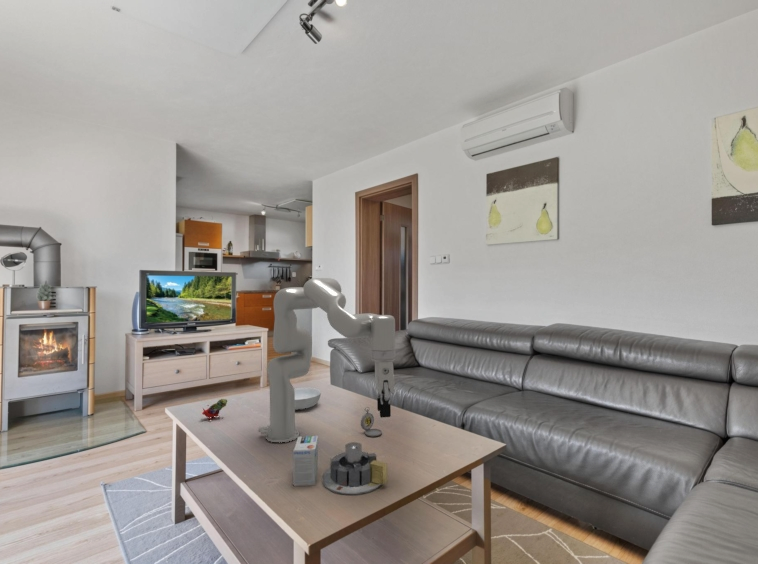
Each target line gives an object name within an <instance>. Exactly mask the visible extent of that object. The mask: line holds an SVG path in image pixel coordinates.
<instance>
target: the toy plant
mask: <svg viewBox="0 0 758 564" xmlns="http://www.w3.org/2000/svg"><path fill="white" fill-rule="evenodd" d="M227 403H228V399H227V398H221V399H218V401H217V402H216V403H213V404H211V406H209V404H207V407H209V408H207V409H206V410H205V408H202V409H203V412H202V415H204V416H205V417H206V418H207V417H209V418H208V419H211V418H210V417H213V418H214V416H216V417H217V416H219V414H220V411H221V410H222V409H223V408H226V406H227Z"/></svg>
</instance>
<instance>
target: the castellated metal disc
mask: <svg viewBox="0 0 758 564" xmlns="http://www.w3.org/2000/svg"><path fill="white" fill-rule="evenodd" d="M329 468H330V476H331V479H332V480H333V481H334V482H335V483H337V484H340V485H344V486H347V485H348V484H349V486H360V484H361V485H364V484H367V483H369V482H375V483H378V484H382V485H381V486H383V485H385V484H386V483H387V482H388V463H386V462H383V461H378V460H377V454H376V452H372V453H371V452H370V453H369V452H366V451H362V467H361V464H360V463H358V464H353V468H347V467H345V451H344V452H341V453H338V454H336V455H335V456H333V457H331V458H330V464H329Z"/></svg>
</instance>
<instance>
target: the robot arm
mask: <svg viewBox="0 0 758 564" xmlns="http://www.w3.org/2000/svg"><path fill="white" fill-rule="evenodd" d="M346 304H347V299H346V296H345V294H343V293H342V286H341V284H340V283H339V281H338V280H336V279H334V278H331V277H328V278H327V277H326V278H325V277H314V278H310V279H309V280H306V282H305V283H304V285H303V287H301V286H300V287H299V286H298V287H297V286H293V287H292V286H291V287H285V288H281V289H279V290H278V291H277V292H276V293H275V295H274V298H273V313H274V324H273V337H272V347H273V350H274V351H275V353H277V354H286V355H281V356H275V357H274V358H272V359H270V361H268V363H267V366H266V373H267V378H268V384H269V386H268V387H269V425H267V426H259V427H258V433H260V434H266V435H265V440H266V439H267V440H268V441H267V440H266V441H267V442H269V441H271V442H270V443H272V442H279V443H278V444H283V443H282V442H285V443H289V441H290V442H292V440H293V441H295V440H297V439H296V438H297V437H300V432H299V431H298V429H296V410H295V391H294V386H293V384H292V382H291V381H290V380H293V379H296V378H300V377H304V376H305V375H307V374H308V373H309V371H310V368H311V361H312V360H311V359H312V349H313V337H312V334H311V332H310V331H309V329H308V328H306V327H305V326H304V327H303V326H298V327H297V325H298V324H297V323H298V317H297V314H296V313H295V311H296V310H313V309H317V308H320V309H321V310H322V311H323V312H325V313H326V316H327V320H328V322H329V325H330V326H331V327H332V329H333V330H335V331H336V332H337V333H339V334H340V335H341V336H343V337H345V338H347V339H348V340H349V339H351V340H354V339H360V338H367V337H368V338H369V337H370V349H371V350H370V357H371V358H370V360H371V361H372V362H374V379H375V381H374V382H375V388H376V391H377V399H376V400H377V405H376V406H377V409H376V410H377V411H378V412H379V417H380V418H381V419H383V418H390V417H392V416H391V406H392V405H391V396H390V395H391V394H392V395H394V394H395V392H396V391H395V390H396V389H395V374H394V373H395V372H394V371H395V370H394V361H396V319H395V317H394V316H393V315H390V314H376V313H372V312H371V313H369V312H367V313H357V314H356V313H355V314H352V313H349V312H347V311H346V310H345V307H346ZM288 353H290V354H288ZM280 442H281V443H280Z"/></svg>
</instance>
